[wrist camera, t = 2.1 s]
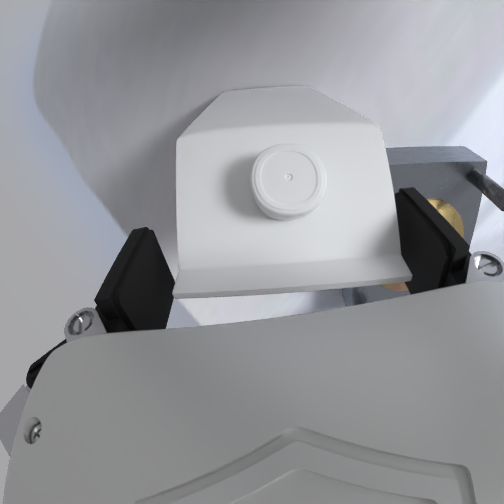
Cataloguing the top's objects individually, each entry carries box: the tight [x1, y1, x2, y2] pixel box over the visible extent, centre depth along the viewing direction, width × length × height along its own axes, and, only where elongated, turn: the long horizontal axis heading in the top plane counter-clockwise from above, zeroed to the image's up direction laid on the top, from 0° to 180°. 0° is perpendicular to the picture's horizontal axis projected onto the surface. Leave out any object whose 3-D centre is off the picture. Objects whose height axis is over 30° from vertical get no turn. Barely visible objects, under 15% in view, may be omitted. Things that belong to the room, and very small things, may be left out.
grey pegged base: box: [343, 147, 504, 307], centre depth 25 cm, size 18×14×9 cm
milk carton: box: [172, 86, 412, 299], centre depth 16 cm, size 7×7×19 cm
